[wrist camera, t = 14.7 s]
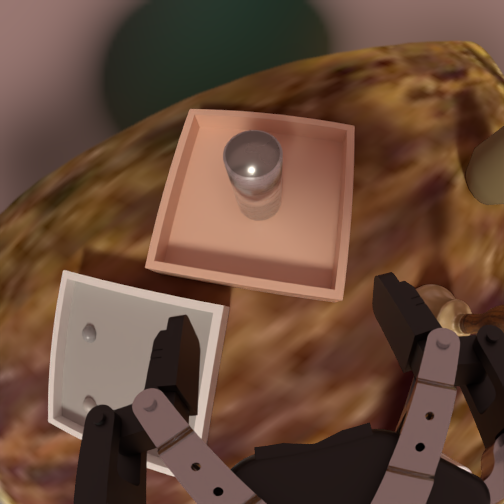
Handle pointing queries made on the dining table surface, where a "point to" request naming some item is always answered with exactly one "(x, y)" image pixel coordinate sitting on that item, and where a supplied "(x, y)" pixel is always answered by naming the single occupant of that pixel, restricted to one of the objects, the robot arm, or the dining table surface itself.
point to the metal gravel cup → (255, 173)
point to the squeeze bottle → (488, 170)
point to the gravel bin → (122, 350)
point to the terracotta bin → (251, 231)
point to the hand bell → (458, 311)
